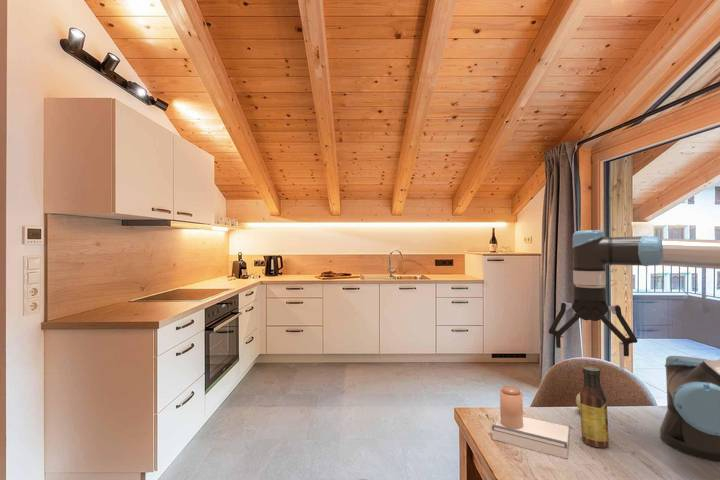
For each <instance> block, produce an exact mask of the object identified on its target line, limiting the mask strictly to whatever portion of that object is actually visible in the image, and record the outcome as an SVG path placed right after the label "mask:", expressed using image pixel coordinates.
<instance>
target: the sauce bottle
mask: <svg viewBox="0 0 720 480" xmlns="http://www.w3.org/2000/svg"><path fill="white" fill-rule="evenodd" d="M582 373H583V386H582V387H581V389H580V391H579V393H580V410H579V413H580V415H579V416H580V427H581V429H580V431H581V438H582V441H583V443H585V444H587V445H588V446H591V447H593V448H602V449H605V448H606V447H608V446H609V440H610V437H609V419H608V415H609V414H608V404H607V402H608V401H607V398H606V395H605V392H604V391H603V390H604V389H603V388H602V386H601V370H600V368H598V367H594V366H583V367H582Z"/></svg>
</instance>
